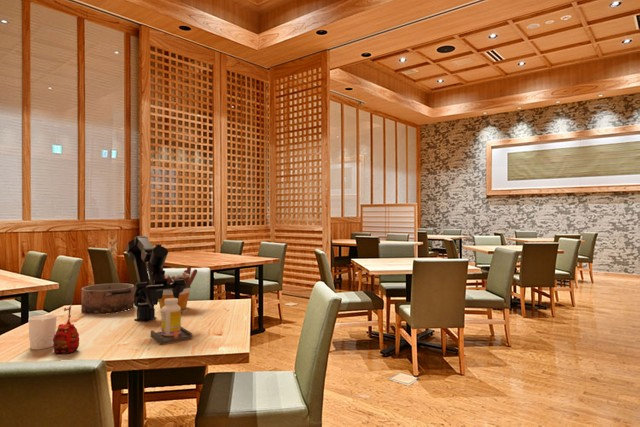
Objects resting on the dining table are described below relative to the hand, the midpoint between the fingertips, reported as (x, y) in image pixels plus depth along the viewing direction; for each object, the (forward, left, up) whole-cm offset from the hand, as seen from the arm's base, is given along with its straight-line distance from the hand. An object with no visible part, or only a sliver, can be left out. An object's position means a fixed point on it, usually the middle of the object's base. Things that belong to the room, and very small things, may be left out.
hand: (164, 305), depth 158 cm
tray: (+6, -4, -10) cm, 13 cm away
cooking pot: (-53, +26, -11) cm, 60 cm away
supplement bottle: (+6, -4, -9) cm, 12 cm away
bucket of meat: (-24, +37, -11) cm, 46 cm away
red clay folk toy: (-16, -28, -11) cm, 34 cm away
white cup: (-28, -27, -11) cm, 40 cm away
